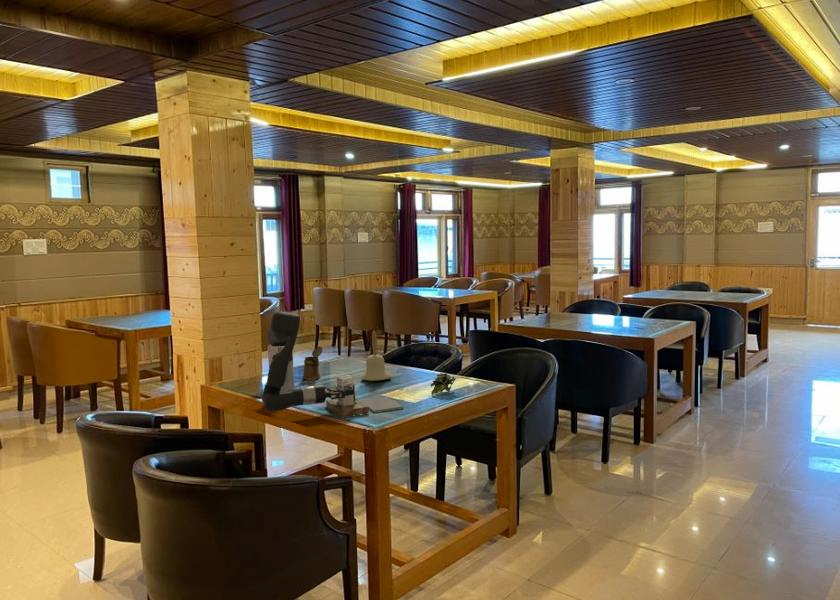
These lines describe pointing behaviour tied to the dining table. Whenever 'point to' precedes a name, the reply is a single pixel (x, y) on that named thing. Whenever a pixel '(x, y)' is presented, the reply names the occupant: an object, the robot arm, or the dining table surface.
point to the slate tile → (381, 404)
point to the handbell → (375, 364)
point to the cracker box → (273, 352)
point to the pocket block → (347, 408)
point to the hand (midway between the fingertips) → (350, 389)
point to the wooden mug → (312, 365)
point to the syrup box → (346, 384)
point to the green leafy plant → (442, 383)
